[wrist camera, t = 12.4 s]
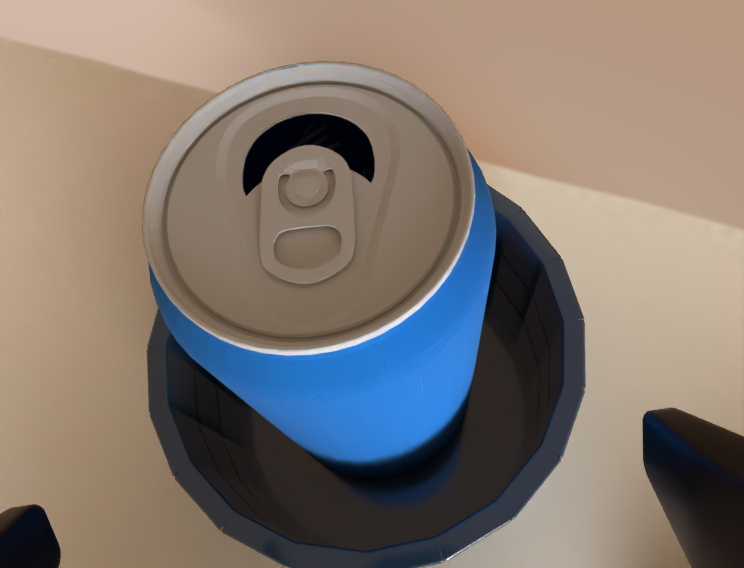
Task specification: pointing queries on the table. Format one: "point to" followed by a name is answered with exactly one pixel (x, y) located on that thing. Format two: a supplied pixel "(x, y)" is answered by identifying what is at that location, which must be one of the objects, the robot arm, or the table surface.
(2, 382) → the table surface
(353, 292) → the beverage can
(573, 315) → the pot
